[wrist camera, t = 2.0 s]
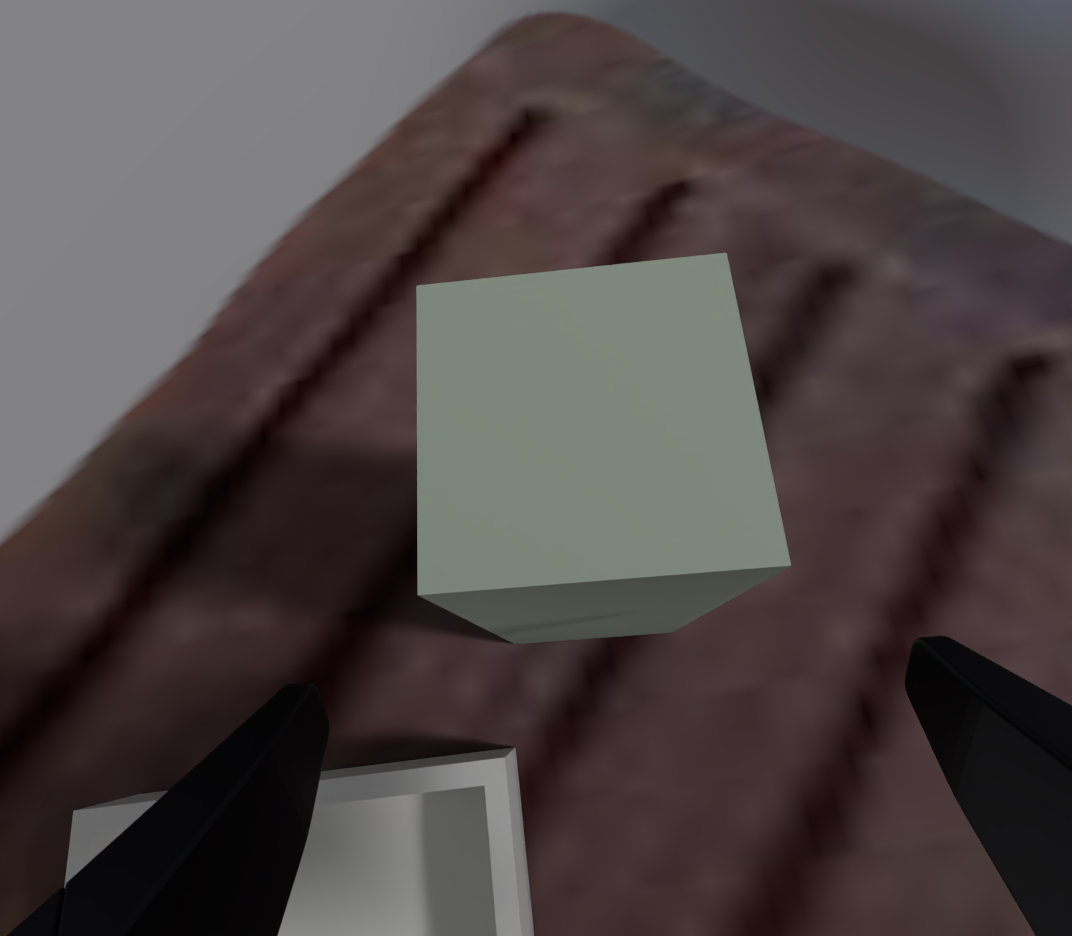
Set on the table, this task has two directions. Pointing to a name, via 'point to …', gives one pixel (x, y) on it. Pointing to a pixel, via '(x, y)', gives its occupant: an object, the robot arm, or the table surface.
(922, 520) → the table surface
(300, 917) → the tray
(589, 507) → the handle block
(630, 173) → the table surface
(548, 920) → the table surface
